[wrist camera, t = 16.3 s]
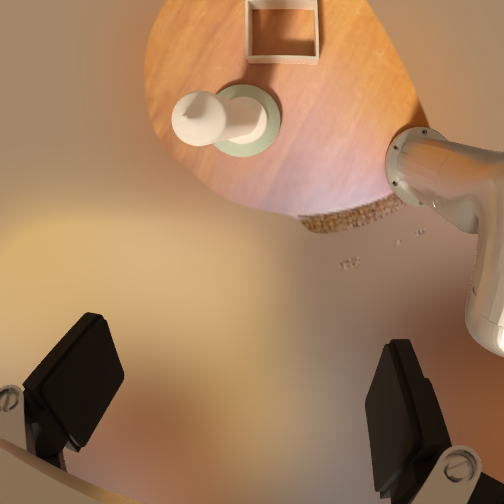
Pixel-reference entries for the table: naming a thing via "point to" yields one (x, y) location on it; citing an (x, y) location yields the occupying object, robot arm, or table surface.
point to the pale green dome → (272, 122)
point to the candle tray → (280, 1)
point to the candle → (218, 119)
